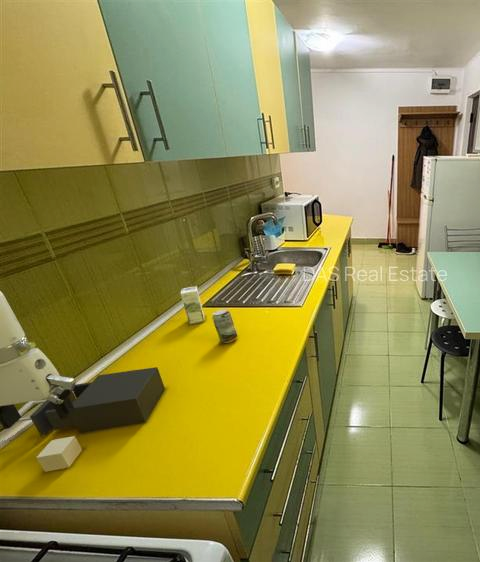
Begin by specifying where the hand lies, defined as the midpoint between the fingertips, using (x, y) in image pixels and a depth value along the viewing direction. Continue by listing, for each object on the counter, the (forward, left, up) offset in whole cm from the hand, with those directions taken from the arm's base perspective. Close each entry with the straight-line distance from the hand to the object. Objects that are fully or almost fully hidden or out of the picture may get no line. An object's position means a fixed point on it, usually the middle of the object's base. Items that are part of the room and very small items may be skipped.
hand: (41, 418), depth 64 cm
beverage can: (+26, +44, -13) cm, 53 cm away
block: (0, 0, -13) cm, 13 cm away
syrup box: (+10, +63, -13) cm, 65 cm away
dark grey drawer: (-7, +14, -12) cm, 19 cm away
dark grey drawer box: (+6, +14, -13) cm, 20 cm away
